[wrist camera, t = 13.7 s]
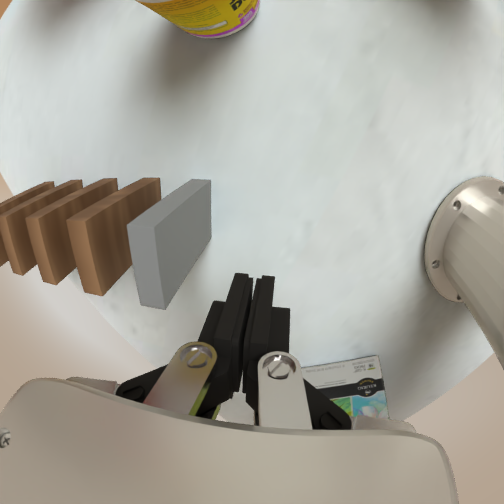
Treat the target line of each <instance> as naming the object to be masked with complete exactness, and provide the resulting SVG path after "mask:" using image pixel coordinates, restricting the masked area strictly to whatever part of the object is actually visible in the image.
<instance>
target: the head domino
mask: <svg viewBox="0 0 504 504" xmlns="http://www.w3.org/2000/svg"><path fill="white" fill-rule="evenodd" d="M127 231H128V238H129V245H130V251H131V257H132V263H133V269H134V274H135V279H136V284H137V289H138V294H139V299H140V303H141V305H142V306H147V307H153V308H158V309H163V310H166V308H167V306H168V305H169V303H170V301H171V300H172V298H173V297H174V295H175V293H176V292H177V290H178V289H179V287H180V285H181V284H182V282H183V281H184V279H185V277H186V276H187V274H188V273H189V271H190V270H191V268H192V266H193V265H194V263H195V262H196V260H197V259H198V257H199V256H200V254H201V252H202V251H203V249H204V248H205V246H206V245H207V243H208V242H209V240H210V239H211V180H201V179H191V180H190V181H188V182H187V183H185V184H184V185H182V186H181V187H179V188H178V189H176V190H175V191H173V192H172V193H170V194H169V195H167V196H166V197H165V198H163V199H162V200H160V201H159V202H157V203H156V204H155V205H153V206H152V207H150V208H149V209H148V210H146V211H145V212H144V213H142V214H141V215H139V216H138V217H137V218H135V219H134V220H133V221H131V222H130V223H129V224H127Z"/></svg>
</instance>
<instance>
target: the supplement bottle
mask: <svg viewBox="0 0 504 504" xmlns="http://www.w3.org/2000/svg"><path fill="white" fill-rule="evenodd" d="M135 1H137V2H139V3H141V4H143V5H144V6H146V7H148V8H150V9H151V10H153V11H154V12H156V13H158V14H159V15H161V16H162V17H164V18H165V19H167V20H169V21H170V22H172V23H173V24H175V25H176V26H178V27H179V28H181V29H182V30H184V31H185V32H187V33H189V34H191V35H193V36H196V37H200V38H220V37H225V36H228V35H231V34H233V33H236V32H238V31H239V30H241V29H243V28H244V27H245V26H247V25H248V24H249V23H250V22H251V21H252V20H253V18H254V17H255V15H256V13H257V11H258V9H259V5H260V0H135Z"/></svg>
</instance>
